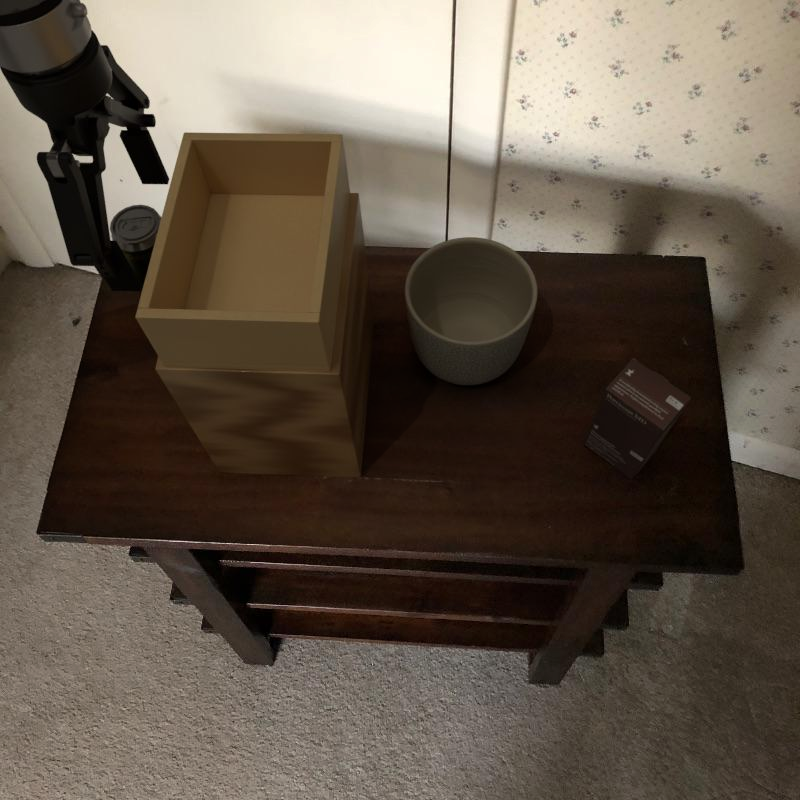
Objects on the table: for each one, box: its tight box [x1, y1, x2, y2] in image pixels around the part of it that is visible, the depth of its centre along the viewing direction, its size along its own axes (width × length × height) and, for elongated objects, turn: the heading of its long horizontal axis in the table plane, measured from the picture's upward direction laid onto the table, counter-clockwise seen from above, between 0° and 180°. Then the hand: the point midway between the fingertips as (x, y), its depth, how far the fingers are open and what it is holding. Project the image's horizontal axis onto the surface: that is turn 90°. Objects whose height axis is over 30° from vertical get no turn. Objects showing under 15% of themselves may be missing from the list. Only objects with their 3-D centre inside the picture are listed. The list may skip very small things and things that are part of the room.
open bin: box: [135, 132, 351, 372], centre depth 59 cm, size 13×18×7 cm
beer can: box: [109, 204, 162, 294], centre depth 80 cm, size 5×5×12 cm
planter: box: [404, 236, 539, 386], centre depth 76 cm, size 12×12×11 cm
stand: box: [154, 192, 375, 479], centre depth 70 cm, size 14×18×20 cm
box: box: [582, 357, 692, 481], centre depth 70 cm, size 6×4×12 cm
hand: (142, 232), depth 76 cm, fingers open, 13 cm apart
